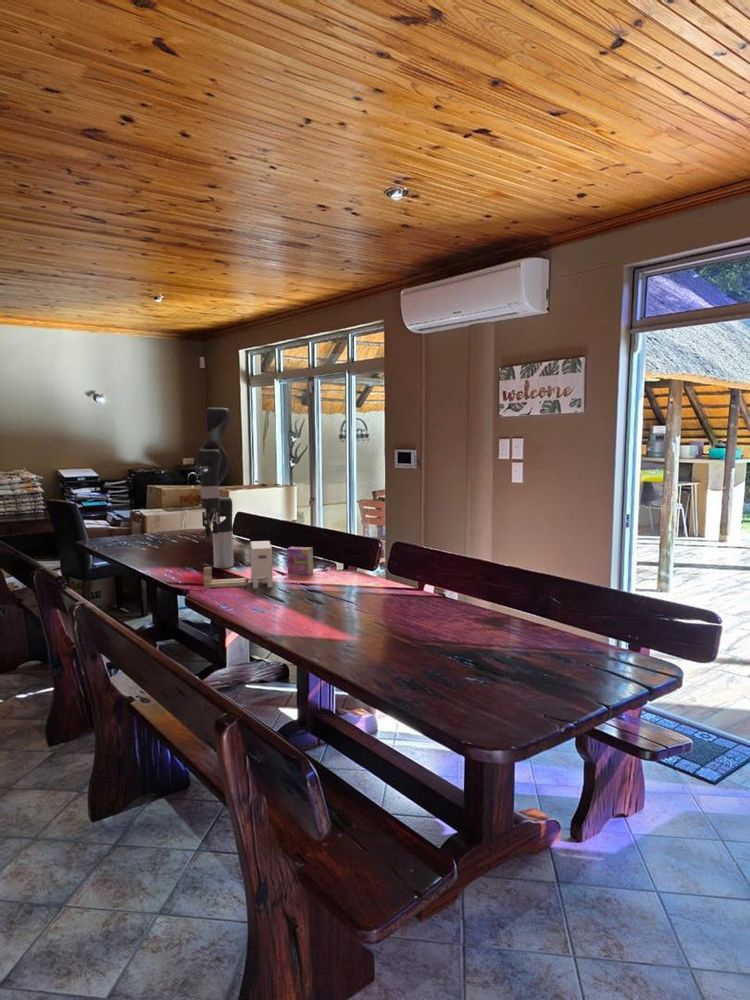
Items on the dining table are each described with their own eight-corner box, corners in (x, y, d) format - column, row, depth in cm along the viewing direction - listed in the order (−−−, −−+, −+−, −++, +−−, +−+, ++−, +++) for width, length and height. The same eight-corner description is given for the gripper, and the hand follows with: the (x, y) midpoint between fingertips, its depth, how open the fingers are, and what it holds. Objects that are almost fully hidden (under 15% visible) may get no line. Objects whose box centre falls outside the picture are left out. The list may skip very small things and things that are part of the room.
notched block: (251, 578, 280) (250, 541, 278) (269, 577, 282) (269, 540, 280) (253, 588, 262) (252, 549, 260) (272, 587, 264) (271, 548, 262)
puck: (255, 582, 274) (255, 577, 274) (267, 581, 275) (267, 577, 275) (256, 585, 269) (256, 580, 269) (268, 584, 270) (268, 579, 270)
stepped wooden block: (204, 584, 271) (204, 566, 270) (245, 582, 274) (245, 564, 273) (204, 588, 264) (203, 569, 263) (245, 586, 268) (245, 567, 267)
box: (287, 574, 289) (286, 548, 287) (292, 571, 294) (291, 546, 293) (308, 575, 286) (308, 549, 284) (313, 572, 291) (313, 547, 290)
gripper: (207, 496, 278) (209, 533, 279) (195, 498, 264) (197, 537, 265) (224, 495, 277) (226, 532, 278) (212, 497, 263) (214, 537, 264)
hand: (212, 534), depth 271 cm, fingers open, 8 cm apart
